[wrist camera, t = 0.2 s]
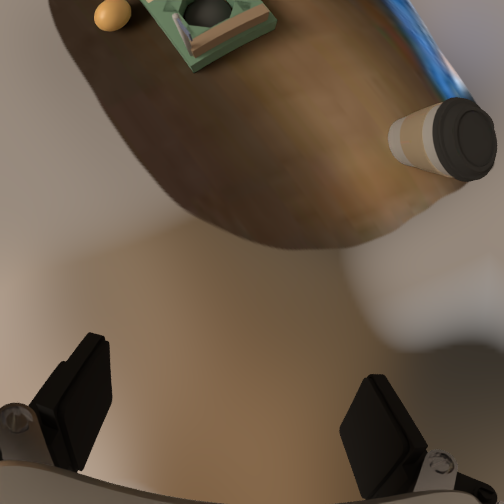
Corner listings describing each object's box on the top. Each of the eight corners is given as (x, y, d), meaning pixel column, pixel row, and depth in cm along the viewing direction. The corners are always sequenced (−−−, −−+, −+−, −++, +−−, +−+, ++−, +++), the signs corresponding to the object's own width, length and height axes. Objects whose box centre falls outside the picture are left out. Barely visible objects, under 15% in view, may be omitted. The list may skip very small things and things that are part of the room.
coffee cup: (418, 186, 40) (488, 201, 25) (369, 149, 38) (433, 147, 24) (442, 135, 38) (514, 133, 23) (397, 97, 36) (463, 76, 22)
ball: (109, 7, 31) (96, -7, 26) (140, 6, 31) (130, -9, 26) (98, 36, 32) (83, 24, 27) (129, 36, 32) (117, 23, 27)
